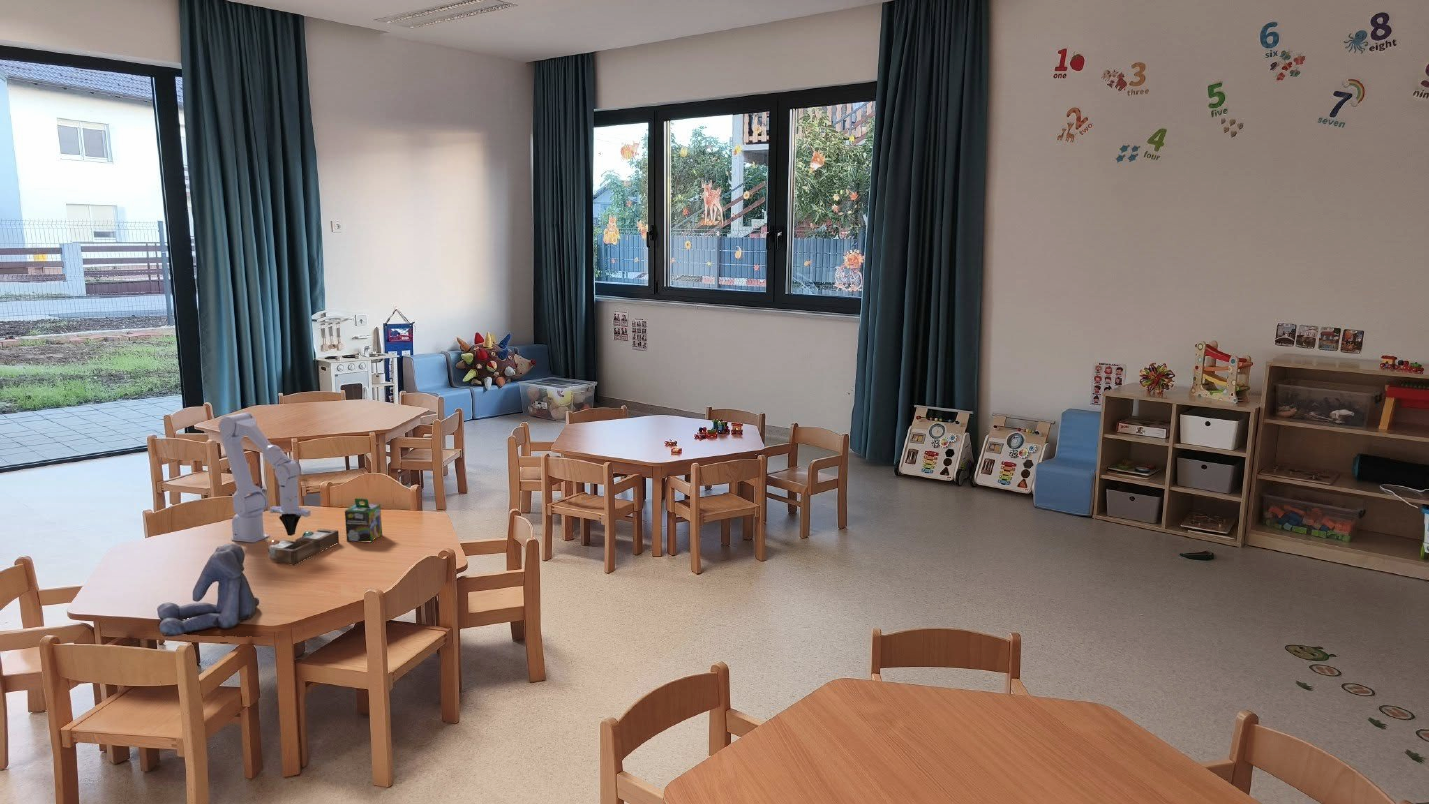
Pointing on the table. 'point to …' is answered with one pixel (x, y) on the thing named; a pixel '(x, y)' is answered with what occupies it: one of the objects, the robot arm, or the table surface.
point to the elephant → (231, 601)
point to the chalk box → (363, 521)
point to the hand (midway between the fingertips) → (291, 534)
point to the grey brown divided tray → (306, 548)
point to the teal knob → (313, 535)
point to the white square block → (280, 546)
